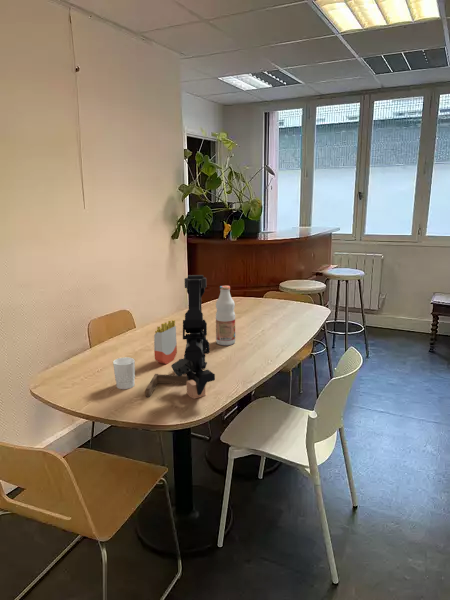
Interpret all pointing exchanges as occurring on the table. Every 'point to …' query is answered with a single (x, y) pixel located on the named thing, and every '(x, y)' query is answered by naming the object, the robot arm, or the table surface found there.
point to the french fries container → (165, 342)
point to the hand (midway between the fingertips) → (196, 391)
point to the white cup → (124, 372)
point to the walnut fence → (164, 381)
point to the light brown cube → (193, 389)
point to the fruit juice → (225, 318)
